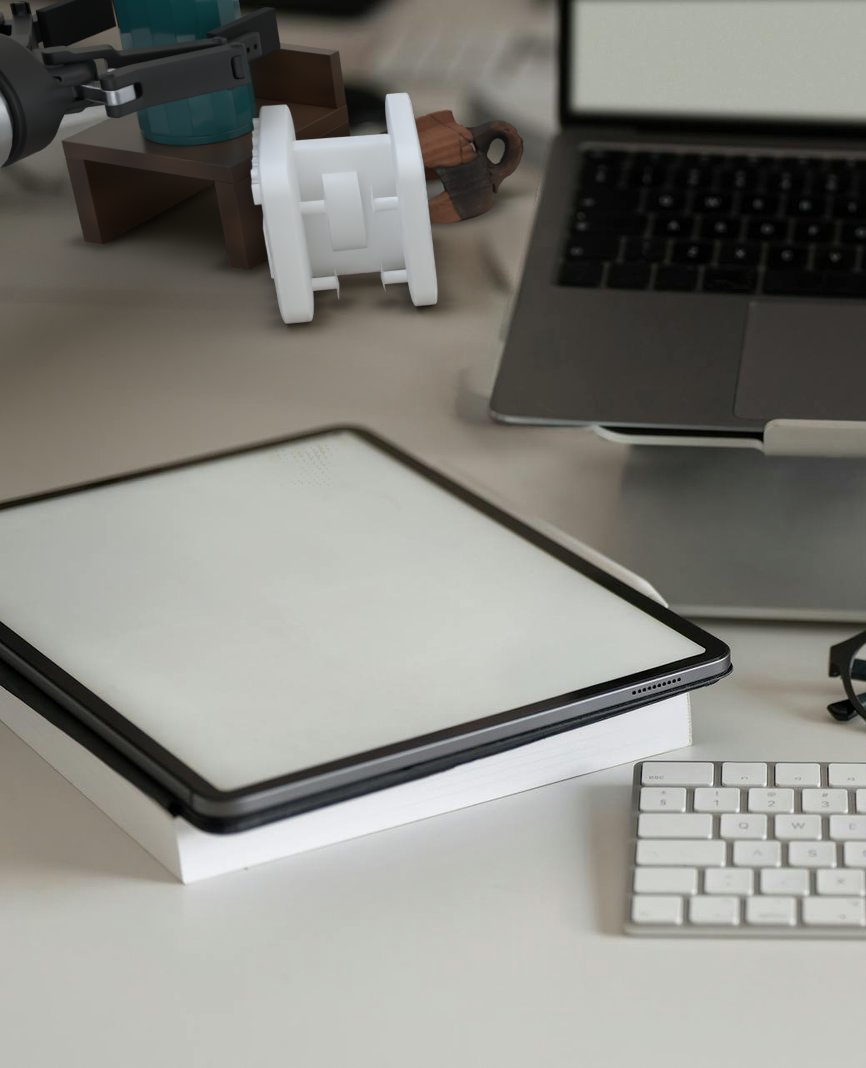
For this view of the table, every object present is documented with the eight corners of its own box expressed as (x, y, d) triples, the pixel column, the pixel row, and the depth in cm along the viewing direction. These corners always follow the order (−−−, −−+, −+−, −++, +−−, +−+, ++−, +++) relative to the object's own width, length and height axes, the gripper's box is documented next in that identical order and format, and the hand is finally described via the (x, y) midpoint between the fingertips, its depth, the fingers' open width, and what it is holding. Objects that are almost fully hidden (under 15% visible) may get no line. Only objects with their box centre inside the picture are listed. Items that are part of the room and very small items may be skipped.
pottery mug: (399, 247, 124) (351, 140, 123) (396, 255, 133) (350, 155, 132) (550, 185, 127) (504, 79, 125) (536, 197, 136) (493, 99, 134)
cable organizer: (443, 327, 112) (424, 157, 106) (277, 343, 110) (247, 171, 103) (427, 240, 124) (409, 83, 118) (277, 253, 122) (251, 94, 116)
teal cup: (115, 137, 119) (81, -24, 113) (187, 102, 125) (159, -51, 119) (211, 151, 116) (181, -11, 110) (280, 116, 123) (255, -40, 117)
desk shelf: (85, 247, 122) (47, 83, 116) (206, 182, 133) (178, 29, 127) (249, 277, 118) (220, 108, 112) (360, 207, 129) (339, 50, 123)
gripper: (-179, 144, 106) (54, 50, 123) (154, 198, 99) (352, 91, 116) (-216, 24, 102) (30, -56, 119) (128, 72, 95) (337, -20, 112)
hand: (189, 16), depth 118 cm, fingers open, 13 cm apart
